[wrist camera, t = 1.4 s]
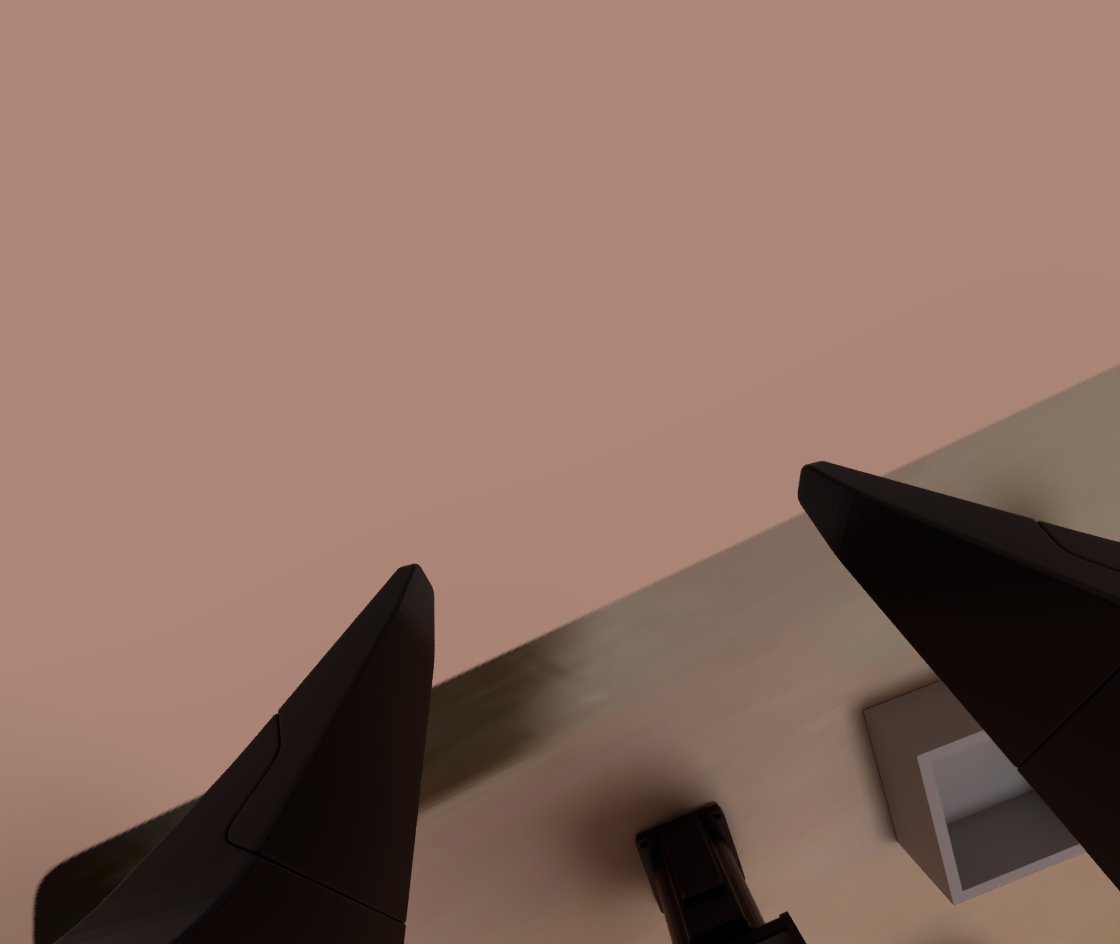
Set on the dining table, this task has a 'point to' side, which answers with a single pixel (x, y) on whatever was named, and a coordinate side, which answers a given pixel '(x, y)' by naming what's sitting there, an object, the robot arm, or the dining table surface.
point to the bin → (960, 797)
